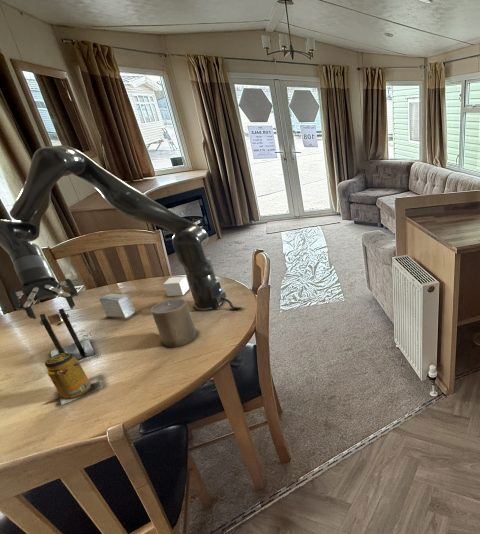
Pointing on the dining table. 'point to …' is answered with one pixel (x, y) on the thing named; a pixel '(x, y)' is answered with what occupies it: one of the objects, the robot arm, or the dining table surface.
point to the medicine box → (117, 305)
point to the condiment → (69, 377)
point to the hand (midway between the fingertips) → (53, 312)
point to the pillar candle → (174, 322)
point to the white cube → (176, 286)
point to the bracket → (79, 347)
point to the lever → (56, 320)
